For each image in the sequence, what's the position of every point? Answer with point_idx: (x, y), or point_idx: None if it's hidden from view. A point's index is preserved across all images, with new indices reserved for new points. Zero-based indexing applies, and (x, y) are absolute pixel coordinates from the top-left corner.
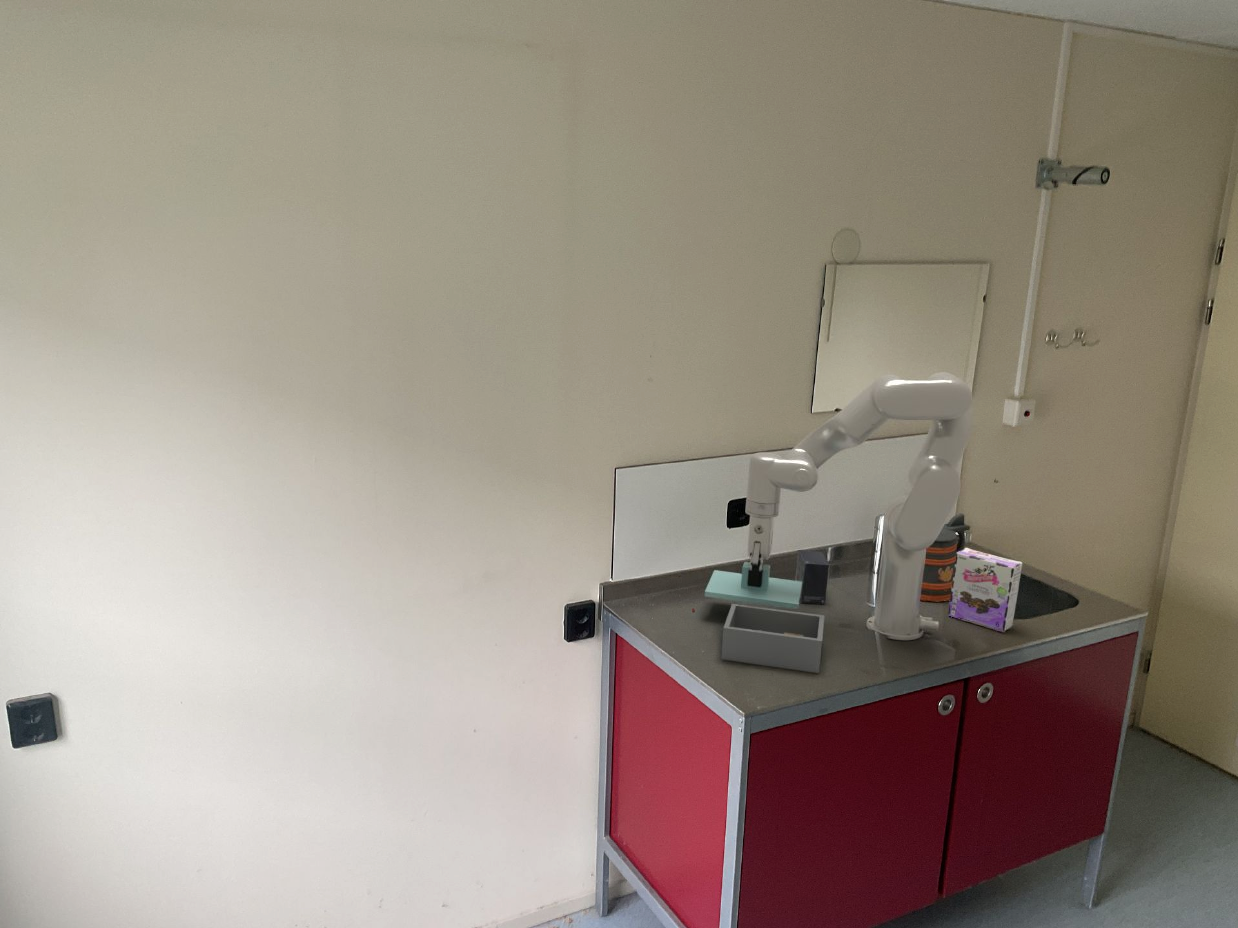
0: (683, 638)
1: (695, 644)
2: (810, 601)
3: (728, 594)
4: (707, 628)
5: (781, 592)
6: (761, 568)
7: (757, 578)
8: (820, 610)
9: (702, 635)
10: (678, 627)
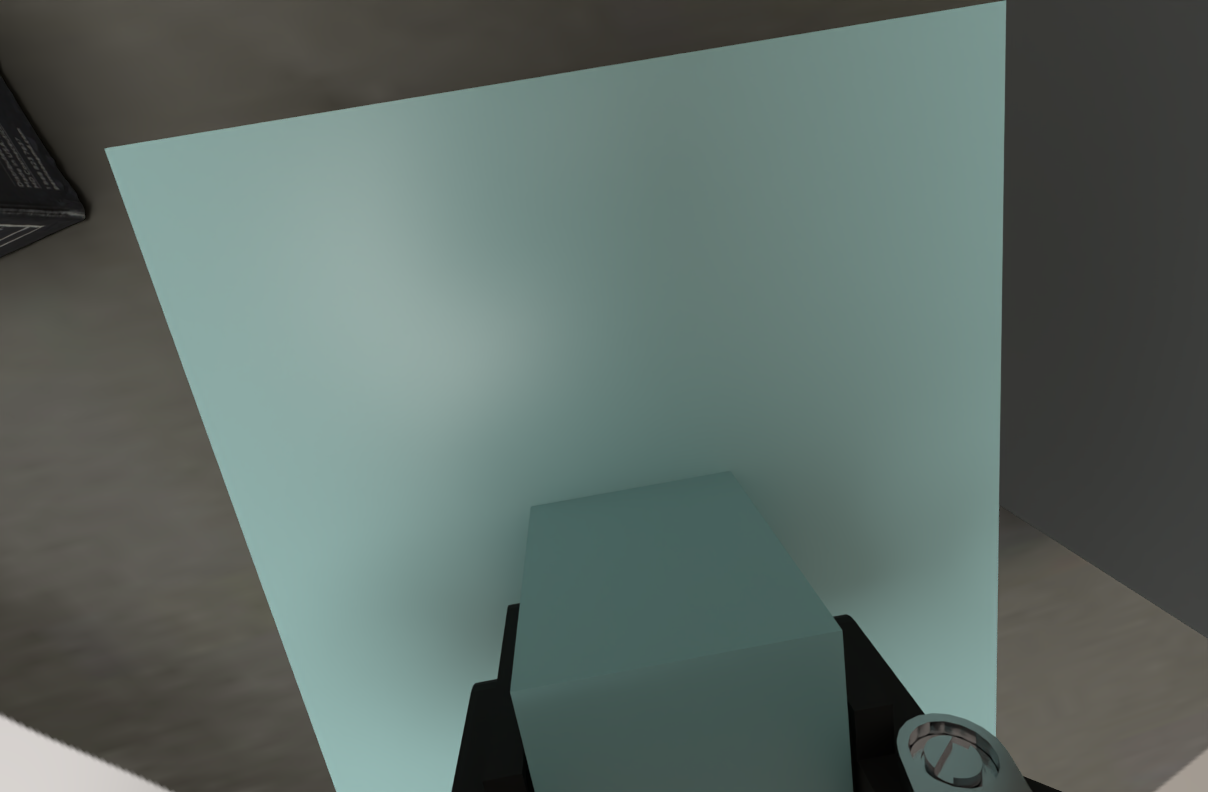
0: (1083, 699)
1: (1144, 625)
2: (22, 128)
3: None
4: None
5: (687, 308)
6: (1016, 768)
7: (882, 666)
8: (136, 2)
9: (1013, 634)
10: None
